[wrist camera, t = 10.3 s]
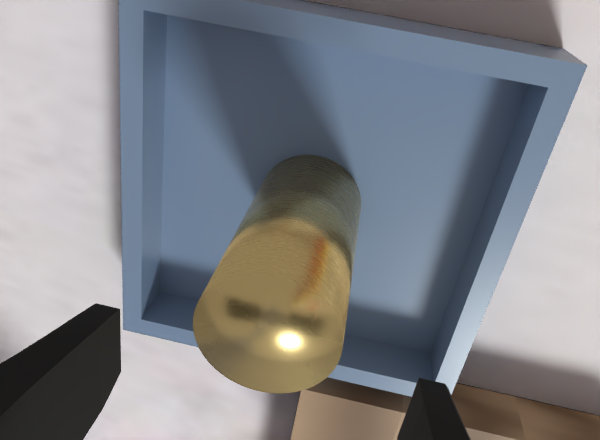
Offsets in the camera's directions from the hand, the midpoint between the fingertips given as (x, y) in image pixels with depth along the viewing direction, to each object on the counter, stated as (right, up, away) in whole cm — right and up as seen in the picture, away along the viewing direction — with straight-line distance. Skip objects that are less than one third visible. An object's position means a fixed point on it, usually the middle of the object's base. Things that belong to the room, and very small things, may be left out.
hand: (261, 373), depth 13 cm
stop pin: (+1, +4, +8) cm, 9 cm away
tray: (+2, +5, +9) cm, 10 cm away
